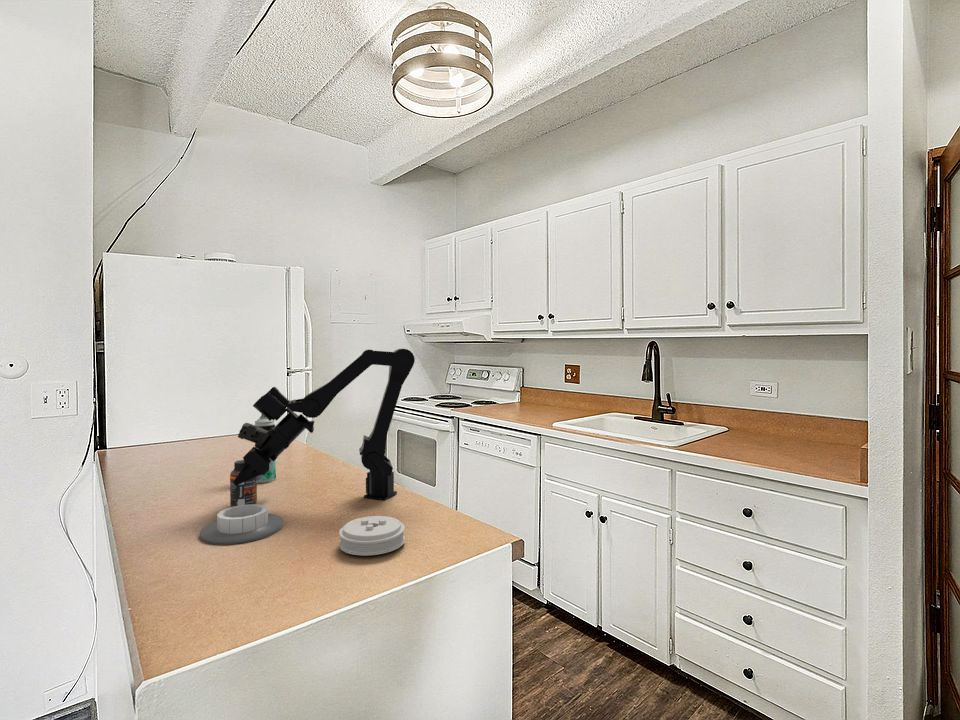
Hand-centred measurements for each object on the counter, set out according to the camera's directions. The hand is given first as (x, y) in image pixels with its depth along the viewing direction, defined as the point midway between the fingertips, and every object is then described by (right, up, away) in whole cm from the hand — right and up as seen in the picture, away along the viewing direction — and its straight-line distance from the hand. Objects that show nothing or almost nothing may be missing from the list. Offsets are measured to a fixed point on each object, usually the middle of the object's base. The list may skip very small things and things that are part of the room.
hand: (237, 480), depth 124 cm
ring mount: (+8, -7, -15) cm, 19 cm away
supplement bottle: (+1, -7, +1) cm, 7 cm away
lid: (+38, -8, -24) cm, 46 cm away
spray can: (-3, -6, +25) cm, 26 cm away
